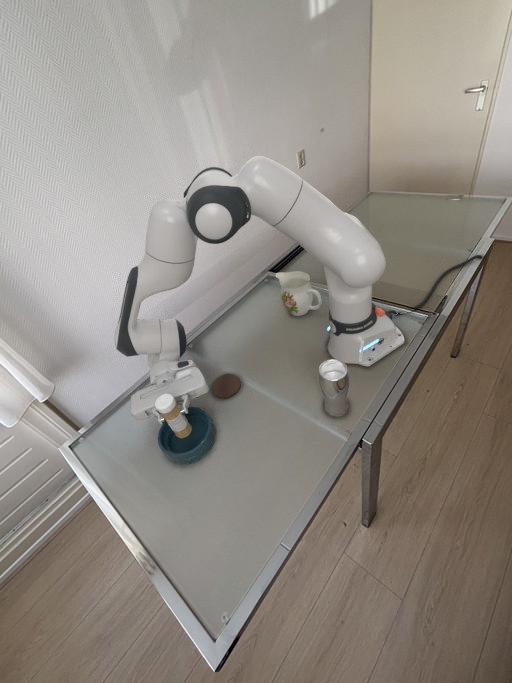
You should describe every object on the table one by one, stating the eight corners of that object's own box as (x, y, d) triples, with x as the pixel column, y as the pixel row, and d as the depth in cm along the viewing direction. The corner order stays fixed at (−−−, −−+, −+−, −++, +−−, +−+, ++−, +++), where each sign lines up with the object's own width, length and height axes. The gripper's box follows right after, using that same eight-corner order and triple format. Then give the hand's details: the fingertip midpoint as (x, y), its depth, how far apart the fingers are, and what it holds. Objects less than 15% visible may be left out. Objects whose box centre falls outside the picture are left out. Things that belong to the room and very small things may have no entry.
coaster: (236, 371, 101) (235, 369, 101) (244, 391, 95) (244, 389, 94) (209, 382, 101) (209, 381, 100) (216, 403, 94) (215, 401, 93)
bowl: (209, 409, 93) (204, 399, 89) (222, 451, 82) (216, 441, 79) (162, 429, 91) (155, 419, 88) (169, 474, 80) (160, 465, 77)
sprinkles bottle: (176, 425, 85) (155, 395, 76) (192, 421, 85) (173, 391, 76) (175, 440, 82) (152, 410, 73) (192, 437, 82) (172, 406, 73)
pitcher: (314, 327, 108) (310, 294, 99) (273, 312, 119) (266, 281, 110) (331, 308, 113) (328, 275, 104) (290, 296, 124) (285, 265, 115)
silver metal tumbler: (350, 419, 81) (348, 381, 71) (322, 417, 83) (316, 381, 73) (349, 396, 85) (348, 358, 75) (323, 395, 87) (318, 358, 77)
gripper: (125, 386, 85) (126, 427, 75) (197, 357, 87) (208, 393, 77) (136, 400, 89) (138, 441, 79) (204, 372, 91) (216, 408, 81)
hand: (173, 417), depth 78 cm, fingers closed on sprinkles bottle, 4 cm apart
